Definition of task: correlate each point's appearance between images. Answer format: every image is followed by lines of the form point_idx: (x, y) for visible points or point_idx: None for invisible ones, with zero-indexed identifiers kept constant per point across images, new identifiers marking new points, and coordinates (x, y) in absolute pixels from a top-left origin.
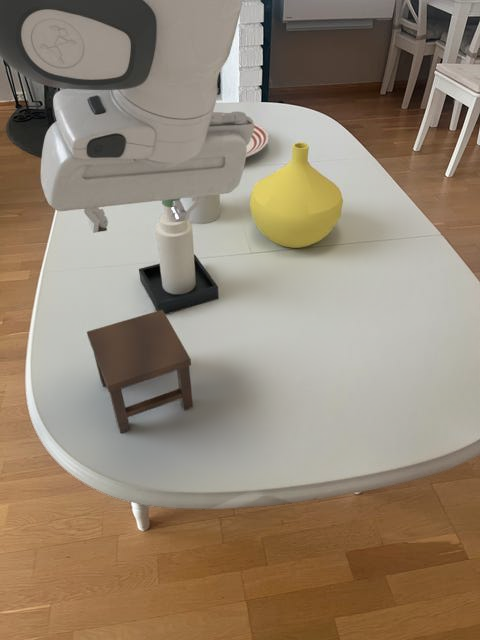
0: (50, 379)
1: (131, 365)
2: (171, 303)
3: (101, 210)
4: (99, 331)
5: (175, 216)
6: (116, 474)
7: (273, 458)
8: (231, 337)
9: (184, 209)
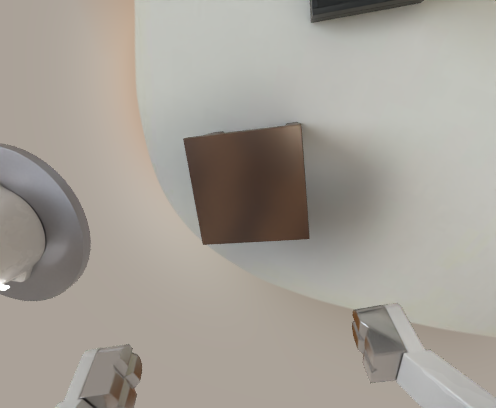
0: (157, 110)
1: (234, 223)
2: (335, 13)
3: (105, 398)
4: (200, 144)
5: (358, 342)
6: (216, 251)
7: (357, 287)
8: (396, 108)
9: (396, 375)
